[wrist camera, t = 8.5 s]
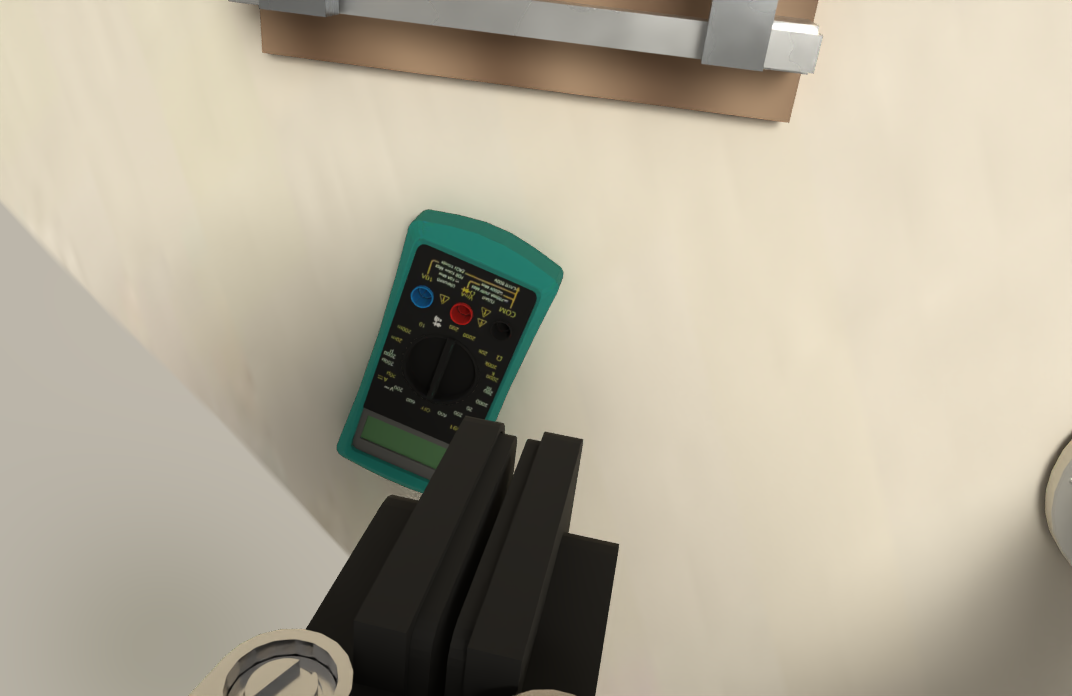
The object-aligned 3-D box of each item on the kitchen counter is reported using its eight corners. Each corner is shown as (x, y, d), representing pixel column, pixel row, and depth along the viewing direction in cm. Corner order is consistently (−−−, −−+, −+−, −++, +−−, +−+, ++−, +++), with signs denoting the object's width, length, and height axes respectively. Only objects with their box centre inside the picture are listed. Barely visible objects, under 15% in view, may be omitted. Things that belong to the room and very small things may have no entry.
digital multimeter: (573, 255, 38) (564, 277, 35) (470, 484, 45) (457, 517, 42) (429, 192, 38) (410, 210, 35) (349, 432, 45) (328, 462, 42)
